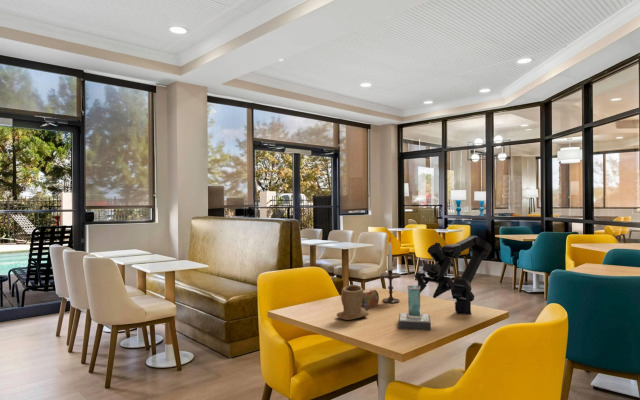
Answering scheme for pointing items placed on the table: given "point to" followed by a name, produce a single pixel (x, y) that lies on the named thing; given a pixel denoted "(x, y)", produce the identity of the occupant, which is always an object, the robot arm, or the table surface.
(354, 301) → the stone cup
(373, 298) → the tin
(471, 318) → the table surface
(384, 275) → the candlestick
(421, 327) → the stand
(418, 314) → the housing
